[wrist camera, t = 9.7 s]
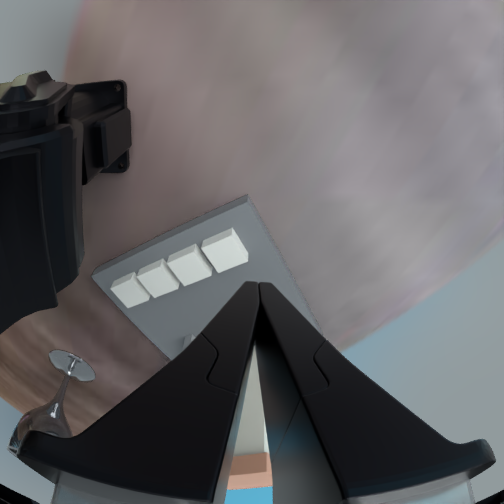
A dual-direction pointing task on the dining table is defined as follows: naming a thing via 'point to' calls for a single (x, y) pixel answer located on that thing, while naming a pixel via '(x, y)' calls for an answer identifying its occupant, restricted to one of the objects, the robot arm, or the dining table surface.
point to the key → (251, 440)
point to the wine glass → (53, 401)
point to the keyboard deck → (196, 274)
